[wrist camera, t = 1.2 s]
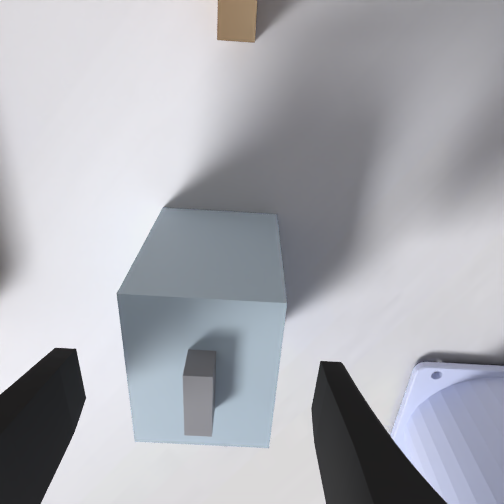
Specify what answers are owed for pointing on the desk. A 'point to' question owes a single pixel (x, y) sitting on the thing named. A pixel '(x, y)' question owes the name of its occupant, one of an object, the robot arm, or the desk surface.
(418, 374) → the robot arm
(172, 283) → the cabinet block
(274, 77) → the desk surface
